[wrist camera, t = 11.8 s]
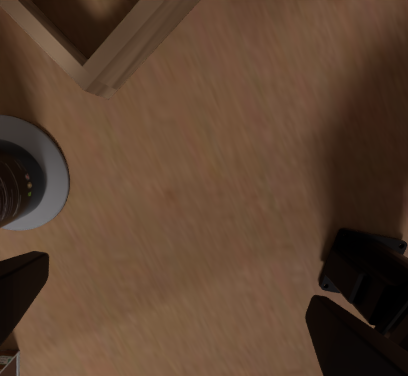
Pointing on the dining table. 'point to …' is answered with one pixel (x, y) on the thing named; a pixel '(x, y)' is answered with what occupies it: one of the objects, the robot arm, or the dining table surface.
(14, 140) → the coaster
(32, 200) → the supplement bottle
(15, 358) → the food container
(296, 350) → the dining table surface
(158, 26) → the walnut box
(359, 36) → the dining table surface
